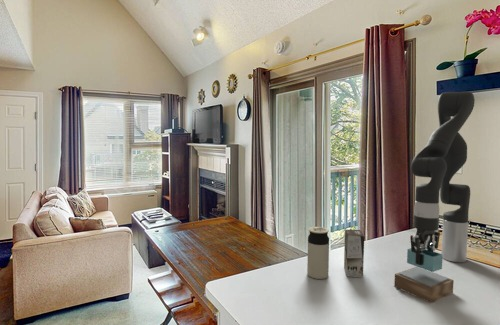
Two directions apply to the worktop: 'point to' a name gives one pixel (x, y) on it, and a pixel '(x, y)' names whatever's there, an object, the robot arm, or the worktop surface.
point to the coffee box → (354, 253)
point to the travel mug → (318, 253)
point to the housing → (426, 260)
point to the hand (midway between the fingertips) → (424, 262)
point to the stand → (424, 284)
